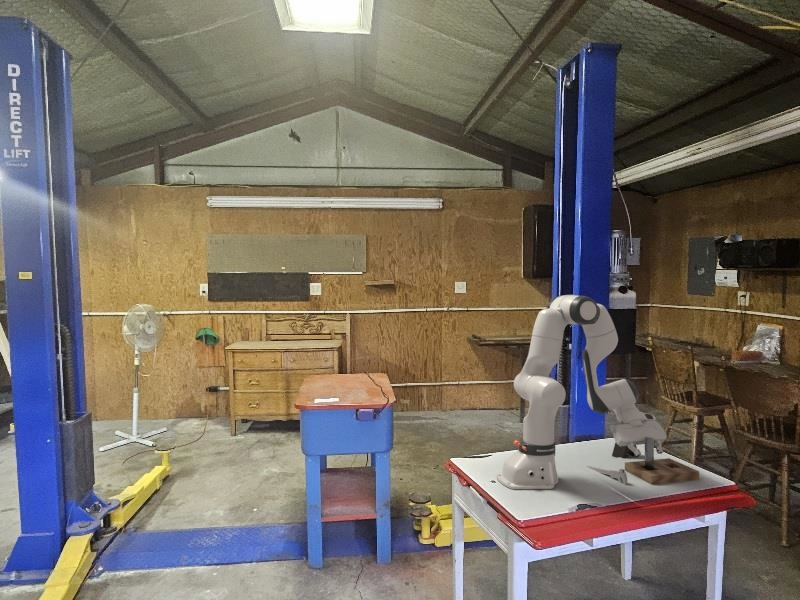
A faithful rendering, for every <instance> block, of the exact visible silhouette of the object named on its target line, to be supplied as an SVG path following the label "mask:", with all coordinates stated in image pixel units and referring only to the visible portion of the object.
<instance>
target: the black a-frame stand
mask: <svg viewBox="0 0 800 600" xmlns="http://www.w3.org/2000/svg"><path fill="white" fill-rule="evenodd" d="M634 447H635V448H636V449H637V450H638V446H637V445H634ZM611 457H613V458H615V457H616V459H617V458H618V459H619V458H621V459H626V458H628V457H637V458H638V456H635V454H634V452H633V451H631V450H630V449H629V448H628V446H619V445H618V444H617V443H616V441H615V443H614V446H613V450H612V453H611Z"/></svg>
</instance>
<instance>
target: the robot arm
mask: <svg viewBox="0 0 800 600" xmlns="http://www.w3.org/2000/svg"><path fill="white" fill-rule="evenodd" d="M568 325H580V326H581V327H582V330H583V332H584V333H583V334H584V335H585V340H586V344H585V348H584V350H582V353H581V355H582V356H581V358H582V367H583V373H584V379H585V386H586V399H587V404H588V406H589V408H590V409H591V410H592V411H593V412H594V413H598V414H600V415H603V414H606V413H608V412H610V411H613V412H614V413H615V417H616V420H617V421H613V422H611V423H610V424H609V429H610V432H611V433H612V435H613V438H614V441H615V442H616V443H617V444H618V445H619V446H628V448H629V449H630V450H631V451H633V452H634V454H635V456H634V457H636V456H637V457H640V456H641V455H642V452H641V450H640V449H639V448H637V449H636V448H635V447H634V445H636V446H639V445H640V446H641V445H645V437H650V438H653V439H654V447H655V446H656V449H655V452H656V453H657V454H658V455H660V454H661V455H662V454H663V453H664V450H663V448H662V443H664V442H665V441H666V440H667V437H668V436H667V434H666V433H667V432H666V431H665V429H663V427H662V426H661V424H660V423H659V422H658V421H656V420H657V419H656V417H655V415H654V414H651V413H646V412H643V411H640V410H639V408H638V407H637V406H636V405H635V404H636V403H637V402H638V399H639V398H640V393H639V391H638V389H637V387H636V385H635V384H634V383H633V381H632V380H630V379H627V378H622V379H620V380H616V381H615V380H614V381H611V382H610V383H606V384H603V385H600V386H599V381H598V375H597V368H598V365H599V364H600V363H601V362H602V361H603V360H604V359H606V357H607V356H609V355H610V354H611V353H612V352H613V351H615V349H616V347H617V346H618V342H619V337H618V333H617V329H616V327H615V324H614V322H613V318H612V317H611V315H610V313H609V312H608V310H607V308H606V307H605V305H603V304H600V303H597V302H596V301H595V300H594V299H593V298H591V297H589V296H586V295H576V294H565V295H564V294H562V295H561V294H560V295H556V296H554V297H553V298H551V300H550V301H549V303H548V304H547V307H546V308H545V309H544V308H543V309H541V310H540V311H539V312H538V313H537V316H536V319H535V321H534V326H533V329H532V333H531V339H530V345H529V348H528V354H527V357H526V359H525V360H526V361H525V362H524V365H523V367H522V369H521V371H520V373H518V374H517V375H516V376H515V378H514V379H513V388H514V390H515V392H516V393H517V395H518V396H519V397H521V398H522V399H523V400H525V401H527V402H528V403H529V406H528V412H527V415H526V416H524V418H523V420H522V431H523V432H522V434H523V436H522V439H521V442H520V441H518V440H516V439H515V440H514V441H513V445H514V446H515V447H517V448H518V450H517V451H515V452H514V453H513V454H512V455H511V456H509V457H508V458H507V459H505V461H504V463H503V467H502V471H499V472H497V473H496V478H497V481H498V482H500V484H502V485H503V486H505V487H506V488H508V489H511V490H539V489H540V490H544V489H545V490H552V489H554V488H555V485H557V484H558V483H559V482H560V479H559V476H558V471H557V465H556V459H555V458H556V457H555V456H556V441H555V422H556V421H555V419H556V416H557V413H558V410H559V408H560V407H561V406H562V405H563V404H564V402H565V400H566V395H567V394H566V393H567V392H566V389H565V387H564V386H563V385H562V384H561V383H560V382H559V381H557V380H556V379H554V378H553V377H550V374H551V371H553V370H552V369H553V368H554V366H555V365H557V364H558V363H559V362H560V357H561V351H562V345H563V340H564V331H565V328H566V327H567V326H568Z"/></svg>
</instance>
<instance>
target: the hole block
mask: <svg viewBox="0 0 800 600" xmlns="http://www.w3.org/2000/svg"><path fill="white" fill-rule="evenodd" d="M624 471H626V473H629V474H631V475H633V476H635V477H636V478H638V479H640V480H641V481H644V482H645V483H648V484H650V485H651V486H652V485H654V486H655V485H663V484H670V483H678V482H679V483H680V482H689V481H700V471H699V470H697V469H695V468H693V467H690V466H688V465H686V464H683V463H681V462H678V461H677V460H674V459H672V458H670V457H668V458H659V459H654V470H650V471H648V470H646V469H645V460H638V461H637V460H636V461H628V462H627V461H625V462H624Z"/></svg>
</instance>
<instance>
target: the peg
mask: <svg viewBox="0 0 800 600" xmlns="http://www.w3.org/2000/svg"><path fill="white" fill-rule="evenodd" d="M654 460H655V444H654V439H653V438H650V437H645V444H644V461H645V469H646V470H648V471H650V470H654Z"/></svg>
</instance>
